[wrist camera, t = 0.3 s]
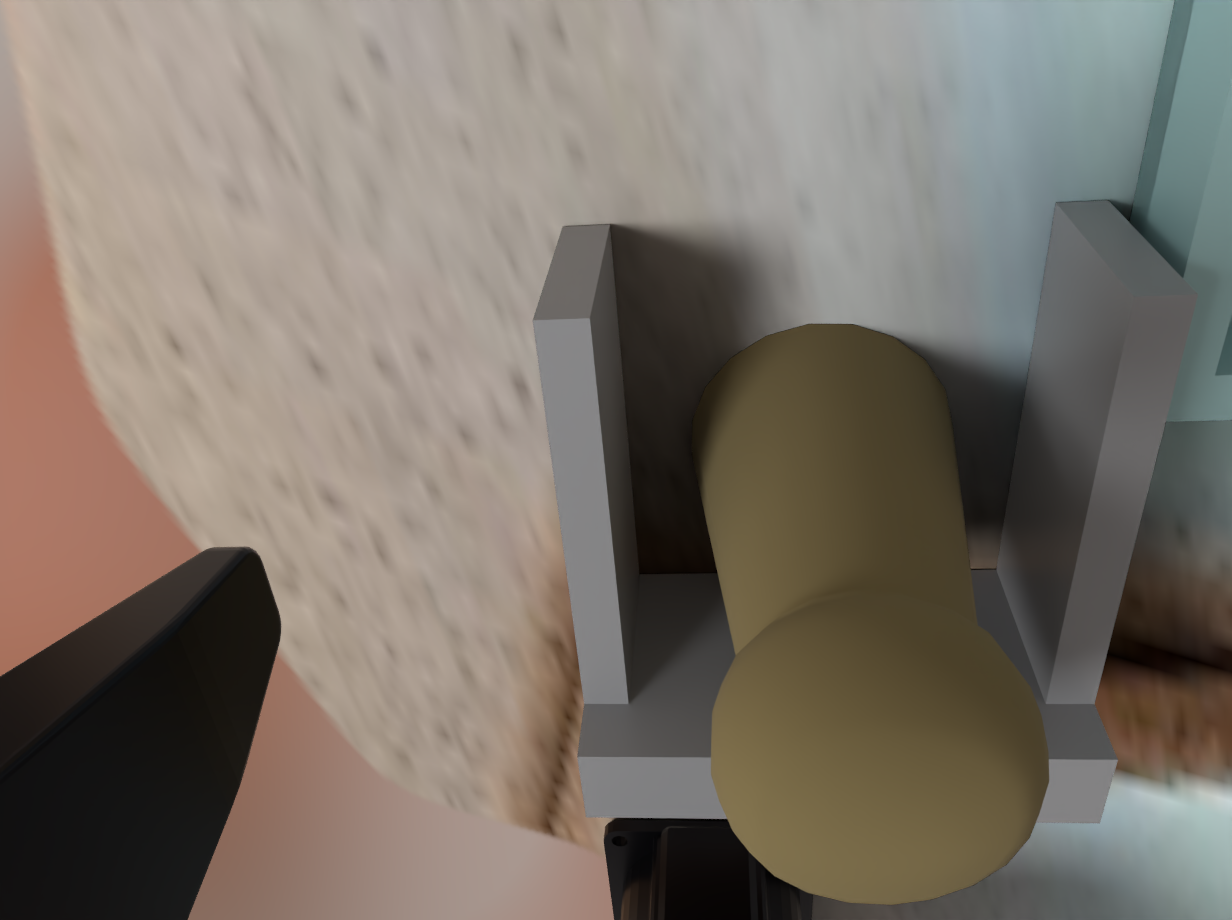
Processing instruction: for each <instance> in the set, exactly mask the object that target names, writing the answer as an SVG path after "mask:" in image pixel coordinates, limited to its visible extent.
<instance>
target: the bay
mask: <svg viewBox="0 0 1232 920" xmlns="http://www.w3.org/2000/svg"><path fill="white" fill-rule="evenodd" d="M1197 297H1198V294H1197V293H1196V292H1195V290H1194V289H1193V288H1192V287H1191V286H1190V285H1189V284H1188V283H1187V282H1186V281H1185V280H1184V279H1183V278H1182V277H1181V276H1180V275H1179V274H1178V273H1177V272H1176V271H1175V270H1174V269H1173V268H1172V266H1171V265H1170V264H1169V263H1168V262H1167V261H1166V260H1165V259H1164V258H1163V257H1162V256H1161V255H1160V254H1159V253H1158V252H1157V251H1156V250H1155V249H1154V248H1153V247H1152V246H1151V245H1150V244H1149V242H1148V241H1147V240H1146V239H1145V238H1144V237H1143V236H1142V235H1141V234H1140V233H1139V232H1138V231H1137V230H1136V229H1135V228H1134V227H1133V226H1132V225H1131V224H1130V223H1129V222H1128V221H1127V219H1126V218H1125V217H1124V216H1123V215H1122V214H1121V213H1120V212H1119V211H1118V210H1117V209H1116V208H1115V207H1114V206H1113V205H1112V204H1111V203H1110V202H1109V201H1108V200H1101V201H1080V202H1059V203H1056V205H1055V211H1054V218H1053V224H1052V230H1051V236H1050V242H1049V248H1048V254H1047V261H1046V267H1045V273H1044V279H1043V285H1042V291H1041V298H1040V304H1039V310H1038V316H1037V322H1036V328H1035V334H1034V341H1033V347H1032V353H1031V359H1030V365H1029V371H1028V377H1027V384H1026V390H1025V396H1024V402H1023V408H1022V414H1021V421H1020V427H1019V433H1018V439H1017V445H1016V451H1015V457H1014V464H1013V470H1012V476H1011V482H1010V488H1009V494H1008V501H1007V507H1006V513H1005V519H1004V525H1003V531H1002V537H1001V544H1000V550H999V556H998V562H997V568H996V570H971V576H972V584H973V592H974V600H975V608H976V616H977V624H978V626H979V627H981V628H983V629H984V630H986V631H987V632H989V633H990V634H991V636H992V637H993V638H994V640H995V641H996V642H997V643H998V645H999V646H1000V647H1001V649H1002V650H1003V651H1004V652H1005V654H1006V655H1007V656H1008V658H1009V659H1010V660H1011V662H1012V663H1013V664H1014V666H1015V667H1016V668H1017V670H1018V671H1019V672H1020V674H1021V675H1022V676H1023V678H1024V679H1025V680H1026V681H1027V683H1028V684H1029V685H1030V687H1031V689H1032V692H1033V694H1034V697H1035V700H1036V702H1037V705H1038V708H1039V710H1040V713H1041V715H1042V720H1043V725H1044V731H1045V736H1046V741H1047V746H1048V751H1049V784H1048V787H1047V791H1046V794H1045V797H1044V800H1043V804H1042V807H1041V810H1040V813H1039V816H1038V818H1037V821H1036V822H1042V823H1100V820H1101V817H1102V813H1103V810H1104V806H1105V803H1106V799H1107V796H1108V792H1109V789H1110V785H1111V782H1112V778H1113V775H1114V771H1115V768H1116V764H1117V761H1118V759H1117V757H1116V755H1115V752H1114V750H1113V747H1112V745H1111V743H1110V740H1109V738H1108V735H1107V733H1106V731H1105V728H1104V726H1103V724H1102V721H1101V719H1100V716H1099V714H1098V712H1097V709H1096V707H1095V705H1094V703H1095V699H1096V695H1097V691H1098V687H1099V683H1100V679H1101V675H1102V671H1103V667H1104V664H1105V660H1106V656H1107V652H1108V648H1109V644H1110V640H1111V636H1112V632H1113V628H1114V624H1115V620H1116V616H1117V612H1118V608H1119V604H1120V600H1121V597H1122V593H1123V589H1124V585H1125V581H1126V577H1127V573H1128V569H1129V565H1130V561H1131V557H1132V553H1133V549H1134V545H1135V541H1136V537H1137V533H1138V530H1139V526H1140V522H1141V518H1142V514H1143V510H1144V506H1145V502H1146V498H1147V494H1148V490H1149V486H1150V482H1151V478H1152V474H1153V470H1154V466H1155V463H1156V459H1157V455H1158V451H1159V447H1160V443H1161V439H1162V435H1163V431H1164V427H1165V423H1166V419H1167V415H1168V411H1169V407H1170V403H1171V399H1172V396H1173V392H1174V388H1175V384H1176V380H1177V376H1178V372H1179V368H1180V364H1181V360H1182V356H1183V352H1184V348H1185V344H1186V340H1187V336H1188V332H1189V329H1190V325H1191V321H1192V317H1193V313H1194V309H1195V305H1196V301H1197ZM533 325H534V333H535V340H536V348H537V355H538V363H539V370H540V377H541V385H542V392H543V400H544V407H545V415H546V422H547V430H548V437H549V444H550V452H551V459H552V467H553V474H554V482H555V489H556V497H557V504H558V511H559V519H560V526H561V534H562V541H563V549H564V556H565V564H566V571H567V579H568V586H569V593H570V601H571V608H572V616H573V623H574V631H575V638H576V646H577V653H578V660H579V668H580V675H581V683H582V690H583V698H584V710H583V718H582V726H581V733H580V741H579V749H578V756H577V757H578V764H579V771H580V778H581V785H582V792H583V799H584V806H585V812H586V817H610V818H696V819H727V817H726V815H725V813H724V811H723V808H722V806H721V804H720V802H719V799H718V796H717V792H716V789H715V786H714V783H713V779H712V776H711V736H712V711H713V708H714V705H715V702H716V699H717V696H718V693H719V690H720V687H721V684H722V682H723V680H724V678H725V676H726V674H727V672H728V670H729V668H730V666H731V664H732V662H733V660H734V658H735V656H736V655H735V650H734V645H733V641H732V636H731V632H730V627H729V623H728V618H727V613H726V609H725V604H724V600H723V595H722V591H721V586H720V581H719V577H718V573H703V574H639V564H638V552H637V540H636V528H635V516H634V504H633V492H632V481H631V469H630V457H629V445H628V433H627V421H626V409H625V397H624V385H623V374H622V362H621V350H620V338H619V326H618V314H617V302H616V290H615V278H614V266H613V255H612V243H611V231H610V224H607V225H587V226H566V227H563V228H562V231H561V234H560V237H559V240H558V243H557V246H556V249H555V253H554V256H553V259H552V262H551V265H550V268H549V271H548V275H547V278H546V281H545V284H544V287H543V290H542V293H541V296H540V300H539V303H538V306H537V309H536V312H535V315H534V318H533Z"/></svg>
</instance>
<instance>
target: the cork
mask: <svg viewBox="0 0 1232 920" xmlns="http://www.w3.org/2000/svg"><path fill="white" fill-rule="evenodd" d="M692 458H693V463H694V467H695V472H696V476H697V481H698V485H699V490H700V495H701V499H702V504H703V508H704V513H705V517H706V522H707V527H708V531H709V536H710V540H711V545H712V549H713V554H714V559H715V563H716V568H717V572H718V577H719V581H720V586H721V591H722V595H723V600H724V604H725V609H726V613H727V618H728V623H729V627H730V632H731V636H732V641H733V645H734V650H735V655H736V656H735V658H734V660H733V662H732V664H731V666H730V668H729V670H728V672H727V674H726V676H725V678H724V680H723V682H722V684H721V687H720V690H719V693H718V696H717V699H716V702H715V705H714V708H713V711H712V736H711V776H712V779H713V783H714V786H715V789H716V792H717V796H718V799H719V802H720V804H721V806H722V808H723V811H724V813H725V815H726V817H727V819H728V822H729V824H730V826H731V828H732V830H733V832H734V833H735V835H736V836H737V837H738V838H739V840H740V841H741V842H742V844H743V845H744V846H745V847H746V849H747V850H748V851H749V852H750V853H751V854H752V855H753V856H754V857H755V858H756V859H757V860H758V861H759V862H760V863H761V864H762V865H763V866H764V867H765V868H766V869H767V870H768V871H770V872H771V873H772V874H773V875H774V876H775V877H777V878H779V879H781V880H783V881H785V882H787V883H789V884H791V885H793V886H795V887H797V888H799V889H801V890H803V891H805V892H807V893H811V894H815V895H819V896H823V897H827V898H831V899H835V900H839V901H843V902H847V903H864V904H885V905H895V904H902V903H909V902H917V901H924V900H931V899H935V898H938V897H941V896H944V895H947V894H949V893H952V892H955V891H958V890H961V889H964V888H967V887H970V886H973V885H975V884H977V883H978V882H980V881H981V880H983V879H984V878H986V877H988V876H989V875H991V874H992V873H994V872H996V871H997V870H999V869H1000V868H1002V867H1004V866H1005V865H1007V864H1008V863H1009V861H1010V860H1011V859H1012V858H1013V857H1014V856H1015V854H1016V853H1017V852H1018V851H1019V850H1020V848H1021V847H1022V846H1023V845H1024V844H1025V843H1026V841H1027V840H1028V839H1029V838H1030V835H1031V833H1032V830H1033V828H1034V826H1035V823H1036V821H1037V818H1038V816H1039V813H1040V810H1041V807H1042V804H1043V800H1044V797H1045V794H1046V791H1047V787H1048V784H1049V751H1048V746H1047V741H1046V736H1045V731H1044V725H1043V720H1042V715H1041V713H1040V710H1039V708H1038V705H1037V702H1036V700H1035V697H1034V694H1033V692H1032V689H1031V687H1030V685H1029V684H1028V683H1027V681H1026V680H1025V679H1024V678H1023V676H1022V675H1021V674H1020V672H1019V671H1018V670H1017V668H1016V667H1015V666H1014V664H1013V663H1012V662H1011V660H1010V659H1009V658H1008V656H1007V655H1006V654H1005V652H1004V651H1003V650H1002V649H1001V647H1000V646H999V645H998V643H997V642H996V641H995V640H994V638H993V637H992V636H991V634H990V633H989V632H987V631H986V630H984V629H983V628H981V627H979V626H978V624H977V616H976V608H975V600H974V592H973V584H972V576H971V568H970V560H969V552H968V544H967V536H966V528H965V520H964V512H963V504H962V496H961V488H960V480H959V472H958V464H957V456H956V448H955V440H954V432H953V424H952V419H951V414H950V410H949V405H948V400H947V395H946V391H945V389H944V387H943V386H942V384H941V383H940V381H939V380H938V378H937V377H936V375H935V374H934V372H933V371H932V369H931V368H930V366H929V365H928V363H927V362H926V360H925V359H923V358H922V357H921V356H919V355H918V354H916V353H915V352H914V351H912V350H911V349H909V348H908V347H907V346H905V345H904V344H902V343H901V342H899V341H898V340H897V339H895V338H894V337H892V336H889V335H886V334H882V333H879V332H876V331H873V330H869V329H866V328H863V327H859V326H856V325H853V324H807V325H804V326H800V327H796V328H793V329H789V330H786V331H782V332H779V333H775V334H771V335H768V336H765V337H764V338H762V339H761V340H759V341H757V342H756V343H754V344H753V345H751V346H749V347H748V348H746V349H744V350H743V351H741V352H740V353H738V354H736V355H735V356H733V357H732V358H730V359H729V361H728V362H727V363H726V364H725V365H724V366H723V368H722V369H721V370H720V371H719V372H718V373H717V375H716V376H715V377H714V378H713V379H712V380H711V382H710V383H709V384H708V385H707V386H706V387H705V390H704V392H703V395H702V397H701V400H700V402H699V405H698V407H697V410H696V412H695V415H694V417H693V420H692Z"/></svg>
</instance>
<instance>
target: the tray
mask: <svg viewBox="0 0 1232 920" xmlns="http://www.w3.org/2000/svg"><path fill="white" fill-rule="evenodd" d="M1129 223H1130V224H1131V225H1132V226H1133V227H1134V228H1135V229H1136V230H1137V231H1138V232H1139V233H1140V234H1141V235H1142V236H1143V237H1144V238H1145V239H1146V240H1147V241H1148V242H1149V244H1150V245H1151V246H1152V247H1153V248H1154V249H1155V250H1156V251H1157V252H1158V253H1159V254H1160V255H1161V256H1162V257H1163V258H1164V259H1165V260H1166V261H1167V262H1168V263H1169V264H1170V265H1171V266H1172V268H1173V269H1174V270H1175V271H1176V272H1177V273H1178V274H1179V275H1180V276H1181V277H1182V278H1183V279H1184V280H1185V281H1186V282H1187V283H1188V284H1189V285H1190V286H1191V287H1192V288H1193V289H1194V290H1195V292H1196V293H1197V294H1198V297H1197V301H1196V305H1195V309H1194V313H1193V317H1192V321H1191V325H1190V329H1189V332H1188V336H1187V340H1186V344H1185V348H1184V352H1183V356H1182V360H1181V364H1180V368H1179V372H1178V376H1177V380H1176V384H1175V388H1174V392H1173V396H1172V399H1171V403H1170V407H1169V411H1168V415H1167V419H1166V422H1179V421H1216V420H1232V0H1175V3H1174V7H1173V12H1172V17H1171V22H1170V27H1169V32H1168V37H1167V42H1166V46H1165V51H1164V56H1163V61H1162V66H1161V71H1160V76H1159V80H1158V85H1157V90H1156V95H1155V100H1154V105H1153V110H1152V115H1151V119H1150V124H1149V129H1148V134H1147V139H1146V144H1145V149H1144V154H1143V158H1142V163H1141V168H1140V173H1139V178H1138V183H1137V188H1136V193H1135V197H1134V202H1133V207H1132V212H1131V217H1130V222H1129Z"/></svg>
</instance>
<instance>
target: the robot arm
mask: <svg viewBox="0 0 1232 920" xmlns="http://www.w3.org/2000/svg"><path fill="white" fill-rule="evenodd" d="M280 636H281V620H280V615H279V611H278V608H277V605H276V602H275V599H274V596H273V593H272V590H271V587H270V584H269V581H268V578H267V575H266V572H265V569H264V566H263V563H262V560H261V558H260V556H259V555H258V553H257V552H256V551H255V550H253V549H252V548H250V547H214V548H209V549H206V550H204V551H203V552H201V553H199V554H198V555H196V556H194V557H193V558H191V559H190V560H188V561H186V562H185V563H183V564H182V565H180V566H178V567H177V568H175V569H173V570H172V571H170V572H169V573H167V574H165V575H164V576H162V577H161V578H159V579H157V580H156V581H154V582H152V583H151V584H149V585H148V586H146V587H144V588H143V589H141V590H140V591H138V592H136V593H135V594H133V595H131V596H130V597H128V598H127V599H125V600H123V601H122V602H120V603H118V604H117V605H115V606H114V607H112V608H110V609H109V610H107V611H105V612H104V613H102V614H101V615H99V616H97V617H96V618H94V619H93V620H91V621H89V622H88V623H86V624H85V625H83V626H81V627H79V628H78V629H76V630H75V631H73V632H71V633H70V634H68V635H67V636H65V637H64V638H62V639H60V640H58V641H57V642H55V643H54V644H52V645H51V646H49V647H47V648H46V649H44V650H42V651H41V652H39V653H38V654H36V655H34V656H33V657H31V658H29V659H28V660H26V661H25V662H23V663H21V664H20V665H18V666H16V667H15V668H13V669H12V670H10V671H8V672H7V673H5V674H3V675H2V676H0V920H188V917H189V914H190V912H191V909H192V907H193V904H194V901H195V899H196V897H197V894H198V892H199V889H200V887H201V884H202V882H203V879H204V877H205V874H206V872H207V869H208V866H209V864H210V861H211V859H212V856H213V854H214V851H215V849H216V846H217V844H218V841H219V839H220V836H221V834H222V831H223V829H224V826H225V824H226V821H227V819H228V816H229V814H230V811H231V808H232V805H233V803H234V800H235V797H236V795H237V792H238V789H239V787H240V783H241V780H242V777H243V773H244V770H245V767H246V764H247V760H248V757H249V753H250V749H251V746H252V742H253V738H254V735H255V731H256V727H257V723H258V720H259V716H260V712H261V709H262V705H263V701H264V698H265V694H266V690H267V686H268V683H269V679H270V675H271V672H272V668H273V664H274V661H275V657H276V654H277V650H278V646H279V642H280ZM604 846H605V854H606V861H607V868H608V876H609V884H610V891H611V898H612V906H613V914H614V920H812V899H813V894H811V893H807V892H805V891H803V890H801V889H799V888H797V887H795V886H793V885H791V884H789V883H787V882H785V881H783V880H781V879H779V878H777V877H775V876H774V875H773V874H772V873H771V872H770V871H768V870H767V869H766V868H765V867H764V866H763V865H762V864H761V863H760V862H759V861H758V860H757V859H756V858H755V857H754V856H753V855H752V854H751V853H750V852H749V851H748V850H747V849H746V847H745V846H744V845H743V844H742V842H741V841H740V840H739V838H738V837H737V836H736V835H735V833H734V832H733V830H732V828H731V826H730V824H729V822H728V821H650V820H616V821H612V822H610V823H608V824H607V825H606V826H605V834H604Z"/></svg>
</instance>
